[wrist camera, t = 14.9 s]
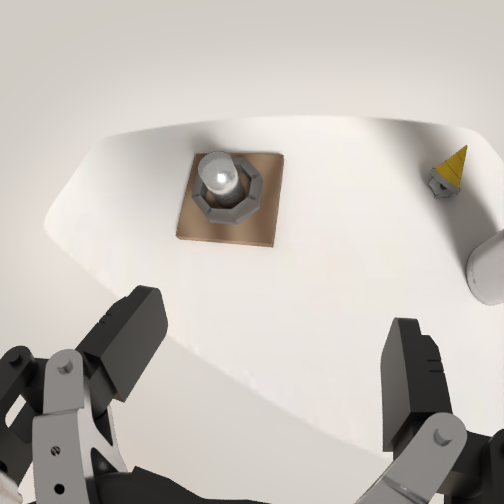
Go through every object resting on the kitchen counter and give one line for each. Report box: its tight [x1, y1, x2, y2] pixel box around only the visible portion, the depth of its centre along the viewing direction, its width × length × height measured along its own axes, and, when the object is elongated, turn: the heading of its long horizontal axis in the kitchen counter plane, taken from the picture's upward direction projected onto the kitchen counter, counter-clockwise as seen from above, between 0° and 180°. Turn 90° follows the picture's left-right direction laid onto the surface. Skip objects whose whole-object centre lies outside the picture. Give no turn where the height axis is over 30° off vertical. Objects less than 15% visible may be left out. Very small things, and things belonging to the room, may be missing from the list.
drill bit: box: [429, 145, 467, 198], centre depth 38 cm, size 5×5×10 cm
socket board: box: [176, 154, 284, 247], centre depth 44 cm, size 14×14×4 cm
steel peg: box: [198, 151, 245, 209], centre depth 41 cm, size 4×4×8 cm
